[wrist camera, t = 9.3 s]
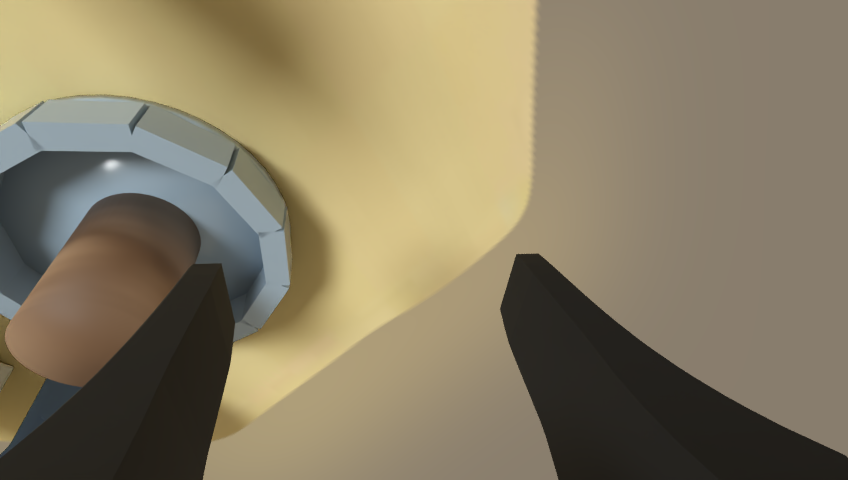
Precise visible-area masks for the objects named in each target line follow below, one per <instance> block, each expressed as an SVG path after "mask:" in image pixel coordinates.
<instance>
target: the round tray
mask: <svg viewBox="0 0 848 480" xmlns="http://www.w3.org/2000/svg"><path fill="white" fill-rule="evenodd" d="M121 193H140V194H146V195H151V196H154V197H158V198H160V199H163V200H165V201H167V202H170V203H172V204H173V205H175V206H177V207H178V208H180V209H181V210H182V211H184V212H185V213H186V214H187V215H188V216H189V217H190V218H191V219H192V221H193V222H194V223H195V225H196V226H197V229H198V231H199V234H200V237H201V247H200V251H199V254H198V257H197V260H196V263H195V264H213V263H222V268H223V272H224V277H225V281H226V285H227V290H228V294H229V299H230V303H231V307H232V312H233V316H234V320H235V329H234V338H233V342H235V341H237V340H239V339H242V338H244V337H246V336H248V335H250V334H253V333H255V332H257V331H258V328H259V329H261V328H262V326H263V325H264V324H265V322H266V321H267V319H268V318H269V316H270V315H271V314H272V312H273V311H274V309H275V308H276V306H277V305H278V304H279V302H280V301H281V299H282V298H283V296H284V295H285V294H286V292H287V291H288V289H289V285H290V280H291V268H292V250H291V225H290V220H289V214H288V210H287V207H286V205H285V202H284V199H283V197H282V195H281V193H280V191H279V189H278V187H277V185H276V183H275V182H274V181H273V179H272V178H271V176H270V175H269V174H268V172H267V171H266V169H265V168H264V167H263V166H262V165H261V164H260V163H259V162H258V161H257V160H256V158H255V157H254V156H253V155H252V154H251V153H249V152H248V151H247V150H246V149H245V148H244V147H242V146H241V145H240V144H239V143H238V142H237V141H235V140H234V139H232V138H231V137H229V136H228V135H226V134H225V133H224V132H222V131H221V130H219V129H217V128H216V127H214V126H212V125H210V124H208V123H206V122H205V121H203V120H201V119H199V118H197V117H194V116H192V115H190V114H187V113H185V112H183V111H180V110H178V109H175V108H172V107H169V106H165V105H162V104H159V103H156V102H152V101H147V100H142V99H137V98H132V97H125V96H114V95H78V96H71V97H65V98H58V99H54V100H48V101H46V102H43V101H42V102H40V103H38V104H36V105H35V106H32V107H30V108H28V109H26V110H24V111H22V112H20V113H18V114H16V115H15V116H13V117H12V118H11V119H9V120H8V121H6V122H5V123H3V124H2V125H0V314H1V315H3V316H5V317H6V318H8V319H10V320H12V318H13V317H14V315H15V314H16V313H17V311H18V310H19V308H20V307H21V306H22V304H23V303H24V301H25V300H26V299H27V297H28V296H29V294H30V293H31V291H32V290H33V289H34V287H35V286H36V284H37V283H38V282H39V280H40V279H41V277H42V276H43V274H44V273H45V272H46V270H47V269H48V267H49V266H50V265H51V263H52V262H53V260H54V259H55V257H56V256H57V255H58V253H59V252H60V250H61V249H62V248H63V246H64V245H65V243H66V242H67V240H68V239H69V238H70V236H71V235H72V233H73V232H74V231H75V229H76V228H77V226H78V225H79V224H80V222H81V221H82V219H83V218H84V216H85V215H86V214H87V212H88V211H89V209H90V208H91V207H92V206H93V205H94V204H95V203H96V202H98V201H99V200H101V199H103V198H105V197H108V196H111V195H115V194H121Z"/></svg>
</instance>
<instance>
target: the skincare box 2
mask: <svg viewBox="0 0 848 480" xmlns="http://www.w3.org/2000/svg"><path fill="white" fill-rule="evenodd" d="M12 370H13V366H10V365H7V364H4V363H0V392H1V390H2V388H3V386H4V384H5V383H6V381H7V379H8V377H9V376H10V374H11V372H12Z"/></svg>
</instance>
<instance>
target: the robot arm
mask: <svg viewBox="0 0 848 480" xmlns="http://www.w3.org/2000/svg"><path fill="white" fill-rule="evenodd" d="M500 310H501V314H502V318H503V322H504V327H505V330H506V334H507V338H508V341H509V344H510V347H511V350H512V352H513V355H514V357H515V360H516V362H517V365H518V367H519V370H520V372H521V375H522V377H523V379H524V382H525V384H526V387H527V389H528V392H529V394H530V396H531V399H532V401H533V404H534V406H535V409H536V411H537V414H538V416H539V419H540V421H541V424H542V427H543V429H544V432H545V435H546V438H547V442H548V445H549V448H550V452H551V455H552V458H553V462H554V465H555V469H556V472H557V476H558V479H559V480H848V458H847V457H846V456H845V455H843V454H841V453H839V452H837V451H835V450H833V449H830V448H828V447H826V446H824V445H822V444H819V443H817V442H815V441H813V440H811V439H809V438H807V437H804V436H802V435H800V434H798V433H796V432H794V431H791V430H789V429H787V428H785V427H783V426H781V425H779V424H777V423H775V422H773V421H771V420H769V419H767V418H765V417H764V416H762V415H760V414H758V413H756V412H754V411H752V410H750V409H748V408H746V407H744V406H742V405H741V404H739V403H737V402H735V401H734V400H732V399H729V398H728V397H726V396H724V395H723V394H721V393H719V392H718V391H716V390H715V389H713V388H711V387H710V386H708V385H706V384H704V383H703V382H701V381H700V380H698V379H696V378H694V377H693V376H691V375H690V374H688V373H687V372H685V371H684V370H682V369H680V368H679V367H677V366H676V365H674V364H673V363H671V362H670V361H669V360H667V359H666V358H664V357H663V356H661V355H660V354H658V353H657V352H655V351H654V350H653V349H651V348H650V347H648V346H647V345H646V344H644V343H643V342H642V341H640V340H639V339H638V338H636V337H635V336H634V335H632V334H631V333H630V332H629V331H627V330H626V329H625V328H623V327H622V326H621V325H620V324H618V323H617V322H616V321H615V320H613V319H612V318H611V317H610V316H609V315H608V314H606V313H605V312H604V311H603V310H601V309H600V308H599V307H598V306H597V305H595V304H594V303H593V302H592V301H591V300H590V299H589V298H588V297H587V296H585V295H584V294H583V293H582V292H581V291H580V290H578V288H576V287H575V286H574V285H573V284H572V283H571V282H570V281H569V280H568V279H566V278H565V277H564V276H563V275H562V274H561V273H560V272H558V270H557V269H555V268H554V267H553V266H552V265H551V264H550V263H549V262H548V261H546V260H545V259H544V258H543V257H542V256H541V255H539V254H517V255H516V257H515V261H514V264H513V267H512V271H511V274H510V278H509V281H508V284H507V288H506V291H505V294H504V298H503V301H502V304H501V308H500ZM234 329H235V320H234V316H233V312H232V307H231V303H230V299H229V294H228V290H227V285H226V281H225V277H224V272H223V268H222V263H213V264H193V265H192V266H190V267H189V268H188V270H187V271H186V272H185V273H184V275H183V276H182V277H181V278H180V280H179V281H178V282H177V283H176V285H175V286H174V287H173V288H172V290H171V291H170V292H169V293H168V295H167V296H166V297H165V298H164V299H163V301H162V302H161V303H160V304H159V305H158V307H157V308H156V309H155V310H154V311H153V313H152V314H151V315H150V316H149V317H148V318H147V319H146V321H145V322H144V323H143V324H142V325H141V326H140V327H139V329H138V330H137V331H136V332H135V333H134V334H133V335H132V337H131V338H130V339H129V340H128V341H127V342H126V343H125V344H124V345H123V346H122V347H121V348H120V349H119V350H118V351H117V353H116V354H115V355H114V356H113V357H112V358H111V359H110V360H109V361H108V362H107V363H106V364H105V365H104V366H103V367H102V368H101V369H100V370H99V371H98V372H97V373H96V374H95V375H94V376H93V377H92V378H91V379H90V380H89V381H88V382H87V383H86V384H85V385H84V386H83V387H82V388H81V389H80V390H79V391H78V392H77V393H76V394H74V395H73V396H72V397H71V398H70V399H69V400H68V401H67V402H66V403H65V404H64V405H62V406H61V407H60V408H59V409H58V410H57V411H56V412H55V413H54V414H52V415H51V416H50V417H49V418H48V419H47V420H46V421H44V422H43V423H42V424H41V425H40V426H38V427H37V428H36V429H35V430H34V431H32V432H31V433H30V434H29V435H28V436H27V437H25V438H24V439H23V440H22V441H21V442H19V443H18V444H17V445H16V446H14V447H13V448H12V449H11V450H10V451H8V452H7V453H6V454H5V455H3V456H2V457H1V458H0V480H203V475H204V470H205V465H206V460H207V455H208V451H209V447H210V443H211V439H212V435H213V431H214V427H215V423H216V419H217V415H218V411H219V407H220V404H221V400H222V396H223V392H224V387H225V383H226V379H227V375H228V371H229V367H230V362H231V355H232V347H233V338H234Z"/></svg>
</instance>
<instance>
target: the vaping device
mask: <svg viewBox="0 0 848 480" xmlns="http://www.w3.org/2000/svg"><path fill="white" fill-rule="evenodd" d="M81 388H82V387H78V386H72V385H67V384H63V383H59V382H56V381H53V380H50V379H48V378H47V379H46V380H45V382H44V384H43V386H42V388H41V390H40V391H39V393H38V395H37V397H36V399H35V400H34V402H33V404H32V406H31V408H30V410H29V411H28V413H27V415H26V417H25V419H24V420H23V422H22V424H21V426H20V428H19V429H18V431H17V433H16V435H15V437H14V439H13V440H12V442H11V444H10V445H9V446H8V447H7V448H6V449H5V451H3V452H2V453H1V454H0V458H1V457H2V456H3V455H5V454H6V453H7V452H8V451H10V450H11V449H12V448H13V447H14V446H16V445H17V444H18V443H19V442H21V441H22V440H23V439H24V438H25V437H27V436H28V435H29V434H30V433H31V432H32V431H34V430H35V429H36V428H37V427H38V426H40V425H41V424H42V423H43V422H44V421H46V420H47V419H48V418H49V417H50V416H51V415H52V414H54V413H55V412H56V411H57V410H58V409H59V408H60V407H61V406H62V405H64V404H65V403H66V402H67V401H68V400H69V399H70V398H71V397H72V396H73V395H74V394H76V393H77V392H78V391H79V390H80V389H81Z"/></svg>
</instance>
